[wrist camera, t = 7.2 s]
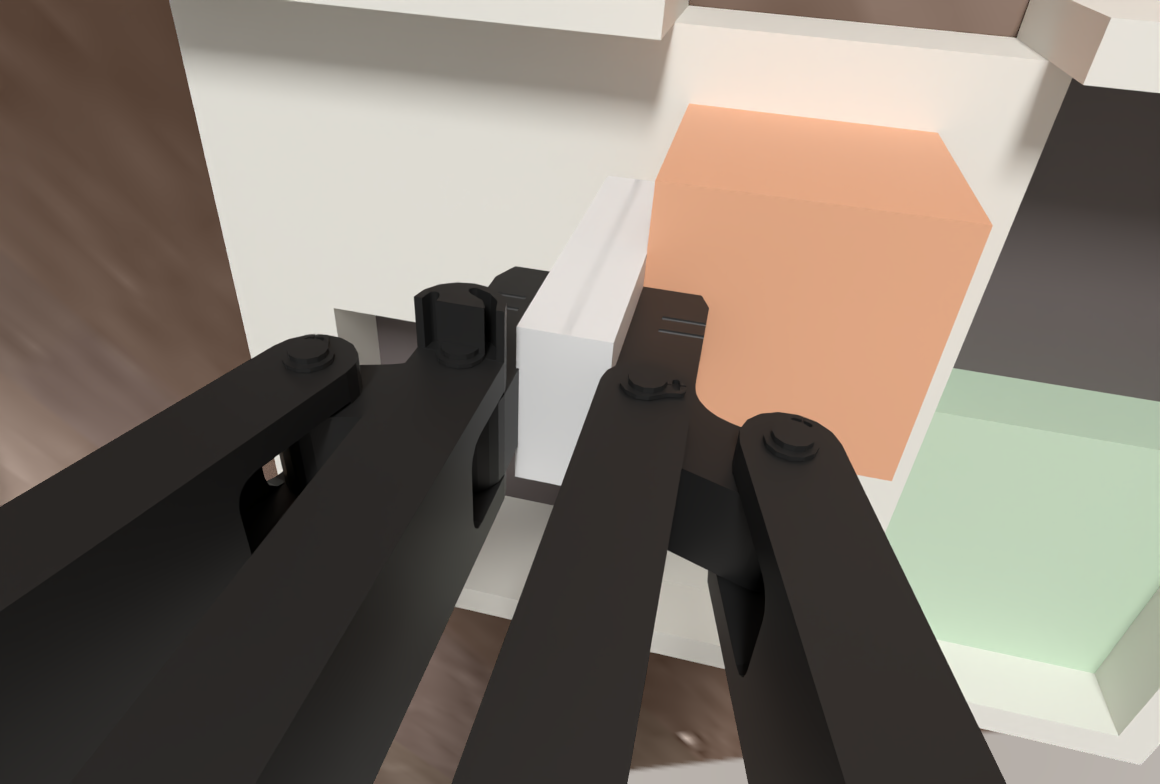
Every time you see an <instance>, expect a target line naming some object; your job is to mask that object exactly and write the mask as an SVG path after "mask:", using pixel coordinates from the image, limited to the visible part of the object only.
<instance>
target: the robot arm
mask: <svg viewBox="0 0 1160 784" xmlns="http://www.w3.org/2000/svg"><path fill="white" fill-rule="evenodd" d="M654 187H655V182H654V181H646V180H639V179H632V178H624V177H617V176H609V175H608V176H607V178H606V180H605V181H604V183H603V185H602V186H601V188H600V189H599V191H598V193H597V194H596V196H595V198H594V199H593V201H592V203H591V204H590V206H589V208H588V209H587V211H586V213H585V214H584V216H583V218H582V219H581V221H580V223H579V224H578V226H577V228H576V229H575V231H574V232H573V234H572V236H571V237H570V239H569V241H568V242H567V244H566V246H565V247H564V249H563V251H562V252H561V254H560V256H559V257H558V259H557V261H556V262H555V264H554V266H553V267H552V269H551V270H550V271H544V270H537V269H531V268H524V267H518V266H515V267H513V268H511V269H509V270H507V271H505V272H503V273H501V274H499V275H497V276H496V277H495V278H494V279H493V281H492V282H491V283H490V285H489V286H488V287H486V286H482V285H479V284H475V283H461V282H455V283H446V284H439V285H436V286H432V287H429V288H426V289H424V290H422V291H421V292H420V293H418V294H417V295H415V296H414V308H415V321H416V334H417V348H416V350H415V351H414V352H413V353H412V355H411V356H410V357H409V359H408V360H407V361H406V362H405V363H400V364H380V365H360V363H359V356H358V352H357V350H356V348H355V347H354V345H353V344H352V343H350V342H348V341H346V340H345V339H343V338H340V337H335V336H330V335H323V334H317V335H315V334H308V335H304V336H300V337H295V338H290V339H288V340H285V341H283V342H281V343H278V344H276V345H274V346H272V347H270V348H269V349H267V350H265V351H264V352H262V353H260V354H259V355H257V356H255V357H254V358H252V359H250V360H248V361H247V362H245V363H243V364H242V365H240V366H238V367H237V368H235V369H233V370H231V371H230V372H228V373H226V374H225V375H223V376H221V377H220V378H218V379H216V380H215V381H213V382H211V383H209V384H208V385H206V386H204V387H203V388H201V389H199V390H198V391H196V392H194V393H192V394H191V395H189V396H187V397H186V398H184V399H182V400H181V401H179V402H177V403H176V404H174V405H172V406H170V407H169V408H167V409H165V410H164V411H162V412H160V413H159V414H157V415H155V416H153V417H152V418H150V419H148V420H147V421H145V422H143V423H142V424H140V425H138V426H137V427H135V428H133V429H131V430H130V431H128V432H126V433H125V434H123V435H121V436H120V437H118V438H116V439H114V440H113V441H111V442H109V443H108V444H106V445H104V446H103V447H101V448H99V449H98V450H96V451H94V452H92V453H91V454H89V455H87V456H86V457H84V458H82V459H81V460H79V461H77V462H75V463H74V464H72V465H70V466H69V467H67V468H65V469H64V470H62V471H60V472H59V473H57V474H55V475H53V476H52V477H50V478H48V479H47V480H45V481H43V482H42V483H40V484H38V485H36V486H35V487H33V488H31V489H30V490H28V491H26V492H25V493H23V494H21V495H20V496H18V497H16V498H14V499H13V500H11V501H9V502H8V503H6V504H4V505H3V506H1V507H0V784H373V783H374V780H375V778H376V776H377V774H378V772H379V770H380V767H381V765H382V763H383V761H384V759H385V757H386V754H387V752H388V750H389V748H390V746H391V744H392V741H393V739H394V737H395V735H396V733H397V731H398V728H399V726H400V724H401V722H402V720H403V718H404V715H405V713H406V711H407V709H408V707H409V705H410V702H411V700H412V698H413V696H414V694H415V692H416V689H417V687H418V685H419V683H420V681H421V679H422V676H423V674H424V672H425V670H426V668H427V666H428V663H429V661H430V659H431V657H432V655H433V653H434V650H435V648H436V646H437V644H438V642H439V640H440V637H441V635H442V633H443V631H444V629H445V627H446V624H447V622H448V620H449V618H450V616H451V614H452V611H453V609H454V607H455V605H456V603H457V601H458V598H459V596H460V594H461V592H462V590H463V588H464V585H465V583H466V581H467V579H468V577H469V575H470V572H471V570H472V568H473V566H474V564H475V562H476V559H477V557H478V555H479V553H480V551H481V549H482V546H483V544H484V542H485V540H486V538H487V536H488V533H489V531H490V529H491V527H492V525H493V523H494V520H495V518H496V516H497V514H498V512H499V510H500V507H501V505H502V503H503V501H504V498H505V492H506V470H507V468H508V466H509V463H510V461H511V459H512V457H513V455H514V453H515V477H520V478H525V479H530V480H535V481H540V482H545V483H550V484H555V485H560V486H561V487H560V490H559V492H558V495H557V498H556V500H555V503H554V506H553V509H552V511H551V514H550V517H549V520H548V522H547V525H546V528H545V530H544V533H543V536H542V539H541V541H540V544H539V547H538V550H537V552H536V555H535V558H534V560H533V563H532V566H531V569H530V571H529V574H528V577H527V580H526V582H525V585H524V588H523V590H522V593H521V596H520V599H519V601H518V604H517V607H516V610H515V612H514V615H513V618H512V620H511V623H510V626H509V629H508V631H507V634H506V637H505V639H504V642H503V645H502V648H501V650H500V653H499V656H498V659H497V661H496V664H495V667H494V669H493V672H492V675H491V678H490V680H489V683H488V686H487V689H486V691H485V694H484V697H483V699H482V702H481V705H480V708H479V710H478V713H477V716H476V719H475V721H474V724H473V727H472V729H471V732H470V735H469V738H468V740H467V743H466V746H465V749H464V751H463V754H462V757H461V759H460V762H459V765H458V768H457V770H456V773H455V776H454V779H453V781H452V784H627V782H628V776H629V771H630V765H631V759H632V753H633V747H634V742H635V736H636V730H637V724H638V718H639V713H640V707H641V701H642V695H643V689H644V684H645V678H646V672H647V666H648V660H649V655H650V649H651V643H652V637H653V631H654V626H655V620H656V614H657V608H658V602H659V597H660V591H661V585H662V579H663V573H664V568H665V562H666V556H667V550H668V551H670V552H672V553H674V554H676V555H678V556H680V557H682V558H684V559H686V560H688V561H690V562H692V563H694V564H696V565H698V566H700V567H702V568H704V569H706V570H708V578H707V583H708V588H709V593H710V598H711V602H712V607H713V612H714V617H715V622H716V627H717V632H718V637H719V642H720V647H721V652H722V656H723V661H724V666H725V671H726V676H727V681H728V686H729V691H730V696H731V701H732V705H733V710H734V715H735V720H736V725H737V730H738V735H739V740H740V745H741V750H742V755H743V759H744V764H745V769H746V774H747V779H748V784H1006V782H1005V780H1004V778H1003V776H1002V774H1001V772H1000V770H999V767H998V765H997V763H996V761H995V759H994V757H993V755H992V753H991V751H990V749H989V747H988V745H987V743H986V741H985V739H984V737H983V734H982V732H981V730H980V728H979V726H978V724H977V722H976V720H975V718H974V716H973V714H972V712H971V710H970V708H969V706H968V704H967V701H966V699H965V697H964V695H963V693H962V691H961V689H960V687H959V685H958V683H957V681H956V679H955V677H954V675H953V673H952V670H951V668H950V666H949V664H948V662H947V660H946V658H945V656H944V654H943V652H942V650H941V648H940V646H939V644H938V642H937V640H936V637H935V635H934V633H933V631H932V629H931V627H930V625H929V623H928V621H927V619H926V617H925V615H924V613H923V611H922V609H921V606H920V604H919V602H918V600H917V598H916V596H915V594H914V592H913V590H912V588H911V586H910V584H909V582H908V580H907V578H906V576H905V573H904V571H903V569H902V567H901V565H900V563H899V561H898V559H897V557H896V555H895V553H894V551H893V549H892V547H891V545H890V542H889V540H888V538H887V536H886V534H885V532H884V530H883V528H882V526H881V524H880V522H879V520H878V518H877V516H876V514H875V512H874V509H873V507H872V505H871V503H870V501H869V499H868V497H867V495H866V493H865V491H864V489H863V487H862V485H861V483H860V481H859V478H858V476H857V474H856V472H855V470H854V468H853V466H852V464H851V462H850V460H849V458H848V456H847V454H846V452H845V450H844V448H843V445H842V444H841V443H840V441H839V440H838V439H837V437H836V436H835V435H834V434H833V432H831V431H830V430H828V429H827V428H825V427H824V426H822V425H821V424H819V423H818V422H816V421H813V420H811V419H808V418H805V417H803V416H800V415H796V414H789V413H782V412H773V413H761V414H759V415H756V416H754V417H752V418H750V419H747V420H746V422H745V423H744V424H743V426H742V427H740V426H737V425H735V424H732V423H730V422H728V421H726V420H724V419H722V418H720V417H718V416H716V415H715V414H713V413H712V412H711V411H709V410H708V409H707V408H706V407H705V406H704V405H703V404H702V403H701V402H700V400H699V398H698V396H697V394H696V379H697V374H698V368H699V362H700V357H701V351H702V345H703V340H704V334H705V328H706V323H707V317H708V311H709V307H708V305H707V304H706V302H705V300H704V299H703V297H702V296H701V295H695V294H689V293H682V292H676V291H669V290H663V289H656V288H650V287H643V284H644V276H645V267H646V259H647V246H648V238H649V229H650V221H651V212H652V204H653V196H654ZM277 455H279V456H280V460H281V465H282V469H283V472H281V473H280V474H279V475H277V476H276V477H274V478H272V479H270V480H268V481H266V479H265V478H264V474H263V469H262V467H263V466H264V465H265V464H267V463H268V462H269V461H271V460H272V459H273V458H275V457H276V456H277Z"/></svg>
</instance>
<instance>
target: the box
mask: <svg viewBox="0 0 1160 784" xmlns="http://www.w3.org/2000/svg"><path fill="white" fill-rule="evenodd" d="M169 2H170V6H171V10H172V15H173V19H174V23H175V28H176V32H177V36H178V41H179V45H180V49H181V54H182V58H183V63H184V67H185V71H186V76H187V80H188V84H189V89H190V93H191V97H192V102H193V106H194V110H195V115H196V119H197V124H198V128H199V132H200V137H201V141H202V145H203V150H204V154H205V158H206V163H207V167H208V171H209V176H210V180H211V184H212V189H213V193H214V198H215V202H216V206H217V211H218V215H219V219H220V224H221V228H222V232H223V237H224V241H225V245H226V250H227V254H228V259H229V263H230V267H231V272H232V276H233V280H234V285H235V289H236V293H237V298H238V302H239V306H240V311H241V315H242V319H243V324H244V328H245V333H246V337H247V341H248V346H249V350H250V354H251V359H252V358H254V357H255V356H257V355H259V354H260V353H262V352H264V351H265V350H267V349H269V348H270V347H272V346H274V345H276V344H278V343H281V342H283V341H285V340H288V339H290V338H295V337H300V336H304V335H308V334H315V335H317V334H323V335H330V336H335V337H340V338H343V339H345V340H346V341H348V342H350V343H352V344H353V345H354V347H355V348H356V350H357V352H358V356H359V363H360V365H380V364H400V363H405V362H406V361H407V360H408V359H409V357H410V356H411V355H412V353H413V352H414V351H415V350H416V348H417V334H416V321H415V308H414V296H415V295H417V294H418V293H420V292H421V291H422V290H424V289H426V288H429V287H432V286H436V285H439V284H446V283H455V282H461V283H475V284H479V285H482V286H486V287H488V286H489V285H490V283H491V282H492V281H493V279H494V278H495V277H496V276H497V275H499V274H501V273H503V272H505V271H507V270H509V269H511V268H513V267H515V266H518V267H524V268H531V269H537V270H544V271H550V270H551V269H552V267H553V266H554V264H555V262H556V261H557V259H558V257H559V256H560V254H561V252H562V251H563V249H564V247H565V246H566V244H567V242H568V241H569V239H570V237H571V236H572V234H573V232H574V231H575V229H576V228H577V226H578V224H579V223H580V221H581V219H582V218H583V216H584V214H585V213H586V211H587V209H588V208H589V206H590V204H591V203H592V201H593V199H594V198H595V196H596V194H597V193H598V191H599V189H600V188H601V186H602V185H603V183H604V181H605V180H606V178H607V176H608V175H609V176H617V177H624V178H632V179H639V180H646V181H654V182H655V180H656V178H657V175H658V173H659V171H660V169H661V166H662V164H663V162H664V159H665V157H666V155H667V153H668V150H669V148H670V146H671V143H672V141H673V139H674V137H675V134H676V132H677V130H678V127H679V125H680V123H681V121H682V118H683V116H684V114H685V112H686V109H687V107H688V105H689V103H690V104H698V105H707V106H715V107H724V108H732V109H741V110H749V111H758V112H766V113H774V114H783V115H791V116H800V117H808V118H817V119H825V120H834V121H842V122H851V123H859V124H868V125H876V126H885V127H893V128H902V129H910V130H919V131H927V132H936V133H938V134H939V135H940V137H941V139H942V140H943V142H944V144H945V146H946V147H947V149H948V151H949V152H950V154H951V156H952V157H953V159H954V161H955V162H956V164H957V166H958V167H959V169H960V171H961V173H962V174H963V176H964V178H965V179H966V181H967V183H968V184H969V186H970V188H971V189H972V191H973V193H974V194H975V196H976V198H977V200H978V201H979V203H980V205H981V206H982V208H983V210H984V211H985V213H986V215H987V216H988V218H989V220H990V222H991V223H992V225H993V226H992V229H991V231H990V234H989V237H988V239H987V242H986V244H985V247H984V249H983V252H982V254H981V257H980V259H979V262H978V264H977V267H976V269H975V272H974V275H973V277H972V280H971V282H970V285H969V287H968V290H967V292H966V295H965V297H964V300H963V302H962V305H961V307H960V310H959V312H958V315H957V318H956V320H955V323H954V325H953V328H952V330H951V333H950V335H949V338H948V340H947V343H946V345H945V348H944V350H943V353H942V355H941V358H940V361H939V363H938V366H937V368H936V371H935V373H934V376H933V378H932V381H931V383H930V386H929V388H928V391H927V393H926V396H925V398H924V401H923V404H922V406H921V409H920V411H919V414H918V416H917V419H916V421H915V424H914V426H913V429H912V431H911V434H910V436H909V439H908V441H907V444H906V447H905V449H904V452H903V454H902V457H901V459H900V462H899V464H898V467H897V469H896V472H895V474H894V477H893V479H892V481H888V480H882V479H877V478H871V477H866V476H861V475H857V476H858V478H859V481H860V483H861V485H862V487H863V489H864V491H865V493H866V495H867V497H868V499H869V501H870V503H871V505H872V507H873V509H874V512H875V514H876V516H877V518H878V520H879V522H880V524H881V526H882V528H883V530H884V532H885V534H886V536H887V538H888V540H889V542H890V545H891V547H892V549H893V551H894V553H895V555H896V557H897V559H898V561H899V563H900V565H901V567H902V569H903V571H904V573H905V576H906V578H907V580H908V582H909V584H910V586H911V588H912V590H913V592H914V594H915V596H916V598H917V600H918V602H919V604H920V606H921V609H922V611H923V613H924V615H925V617H926V619H927V621H928V623H929V625H930V627H931V629H932V631H933V633H934V635H935V637H936V640H937V642H938V644H939V646H940V648H941V650H942V652H943V654H944V656H945V658H946V660H947V662H948V664H949V666H950V668H951V670H952V673H953V675H954V677H955V679H956V681H957V683H958V685H959V687H960V689H961V691H962V693H963V695H964V697H965V699H966V701H967V704H968V706H969V708H970V710H971V712H972V714H973V716H974V718H975V720H976V722H977V724H978V726H979V728H982V729H987V730H991V731H995V732H1000V733H1004V734H1009V735H1013V736H1017V737H1022V738H1026V739H1030V740H1035V741H1038V742H1043V743H1047V744H1051V745H1056V746H1060V747H1064V748H1069V749H1073V750H1077V751H1082V752H1086V753H1091V754H1095V755H1100V756H1103V757H1108V758H1112V759H1117V760H1121V761H1125V762H1130V763H1134V764H1138V765H1141V764H1142V763H1143V762H1144V761H1145V760H1146V759H1147V758H1148V756H1150V754H1151V753H1152V752H1153V751H1154V750H1155V749H1156V748H1157V747H1158V746H1159V745H1160V0H1030V2H1029V4H1028V7H1027V10H1026V13H1025V16H1024V18H1023V21H1022V24H1021V27H1020V29H1019V32H1018V35H1017V38H1013V37H1003V36H992V35H982V34H972V33H962V32H952V31H942V30H931V29H921V28H911V27H901V26H891V25H881V24H871V23H860V22H850V21H840V20H830V19H820V18H810V17H800V16H789V15H779V14H769V13H759V12H749V11H739V10H729V9H718V8H708V7H698V6H688V4H689V0H169ZM274 459H275V463H276V468H277V472H278V475H279V474H280V473H281V472H283V469H282V465H281V460H280V456H279V455H277V456H276V457H275V458H274ZM560 487H561V486H560V485H555V484H550V483H545V482H540V481H535V480H530V479H525V478H520V477H515V453H514V455H513V457H512V459H511V461H510V463H509V466H508V468H507V470H506V492H505V498H504V501H503V503H502V505H501V507H500V510H499V512H498V514H497V516H496V518H495V520H494V523H493V525H492V527H491V529H490V531H489V533H488V536H487V538H486V540H485V542H484V544H483V546H482V549H481V551H480V553H479V555H478V557H477V559H476V562H475V564H474V566H473V568H472V570H471V572H470V575H469V577H468V579H467V581H466V583H465V585H464V588H463V590H462V592H461V594H460V596H459V598H458V601H457V603H456V605H455V607H459V608H463V609H467V610H472V611H476V612H480V613H485V614H489V615H493V616H498V617H502V618H506V619H511V620H512V618H513V615H514V612H515V610H516V607H517V604H518V601H519V599H520V596H521V593H522V590H523V588H524V585H525V582H526V580H527V577H528V574H529V571H530V569H531V566H532V563H533V560H534V558H535V555H536V552H537V550H538V547H539V544H540V541H541V539H542V536H543V533H544V530H545V528H546V525H547V522H548V520H549V517H550V514H551V511H552V509H553V506H554V503H555V500H556V498H557V495H558V492H559V490H560ZM707 578H708V570H706V569H704V568H702V567H700V566H698V565H696V564H694V563H692V562H690V561H688V560H686V559H684V558H682V557H680V556H678V555H676V554H674V553H672V552H670V551H668V550H667V556H666V562H665V568H664V573H663V579H662V585H661V591H660V597H659V602H658V608H657V614H656V620H655V626H654V631H653V637H652V643H651V649H650V652H653V653H658V654H662V655H666V656H671V657H675V658H679V659H684V660H688V661H692V662H697V663H701V664H705V665H710V666H714V667H718V668H723V669H725V666H724V661H723V656H722V652H721V647H720V642H719V637H718V632H717V627H716V622H715V617H714V612H713V607H712V602H711V598H710V593H709V588H708V583H707Z"/></svg>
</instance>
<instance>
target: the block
mask: <svg viewBox="0 0 1160 784" xmlns="http://www.w3.org/2000/svg"><path fill="white" fill-rule="evenodd" d="M992 226H993V225H992V223H991V222H990V220H989V218H988V216H987V215H986V213H985V211H984V210H983V208H982V206H981V205H980V203H979V201H978V200H977V198H976V196H975V194H974V193H973V191H972V189H971V188H970V186H969V184H968V183H967V181H966V179H965V178H964V176H963V174H962V173H961V171H960V169H959V167H958V166H957V164H956V162H955V161H954V159H953V157H952V156H951V154H950V152H949V151H948V149H947V147H946V146H945V144H944V142H943V140H942V139H941V137H940V135H939V134H938V133H936V132H927V131H919V130H910V129H902V128H893V127H885V126H876V125H868V124H859V123H851V122H842V121H834V120H825V119H817V118H808V117H800V116H791V115H783V114H774V113H766V112H758V111H749V110H741V109H732V108H724V107H715V106H707V105H698V104H690V103H689V105H688V107H687V109H686V112H685V114H684V116H683V118H682V121H681V123H680V125H679V127H678V130H677V132H676V134H675V137H674V139H673V141H672V143H671V146H670V148H669V150H668V153H667V155H666V157H665V159H664V162H663V164H662V166H661V169H660V171H659V173H658V175H657V178H656V180H655V187H654V196H653V204H652V212H651V221H650V229H649V238H648V246H647V259H646V267H645V276H644V284H643V287H650V288H656V289H663V290H669V291H676V292H682V293H689V294H695V295H701V296H702V297H703V299H704V300H705V302H706V304H707V305H708V307H709V311H708V317H707V323H706V328H705V334H704V340H703V345H702V351H701V357H700V362H699V368H698V374H697V379H696V394H697V396H698V398H699V400H700V402H701V403H702V404H703V405H704V406H705V407H706V408H707V409H708V410H709V411H711V412H712V413H713V414H715V415H716V416H718V417H720V418H722V419H724V420H726V421H728V422H730V423H732V424H735V425H737V426H740V427H742V426H743V424H744V423H745V422H746V420H747V419H750V418H752V417H754V416H756V415H759V414H761V413H773V412H782V413H789V414H796V415H800V416H803V417H805V418H808V419H811V420H813V421H816V422H818V423H819V424H821V425H822V426H824V427H825V428H827V429H828V430H830V431H831V432H833V434H834V435H835V436H836V437H837V439H838V440H839V441H840V443H841V444H842V445H843V448H844V450H845V452H846V454H847V456H848V458H849V460H850V462H851V464H852V466H853V468H854V470H855V472H856V474H857V475H861V476H866V477H871V478H877V479H882V480H888V481H892V479H893V477H894V474H895V472H896V469H897V467H898V464H899V462H900V459H901V457H902V454H903V452H904V449H905V447H906V444H907V441H908V439H909V436H910V434H911V431H912V429H913V426H914V424H915V421H916V419H917V416H918V414H919V411H920V409H921V406H922V404H923V401H924V398H925V396H926V393H927V391H928V388H929V386H930V383H931V381H932V378H933V376H934V373H935V371H936V368H937V366H938V363H939V361H940V358H941V355H942V353H943V350H944V348H945V345H946V343H947V340H948V338H949V335H950V333H951V330H952V328H953V325H954V323H955V320H956V318H957V315H958V312H959V310H960V307H961V305H962V302H963V300H964V297H965V295H966V292H967V290H968V287H969V285H970V282H971V280H972V277H973V275H974V272H975V269H976V267H977V264H978V262H979V259H980V257H981V254H982V252H983V249H984V247H985V244H986V242H987V239H988V237H989V234H990V231H991V229H992Z"/></svg>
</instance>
